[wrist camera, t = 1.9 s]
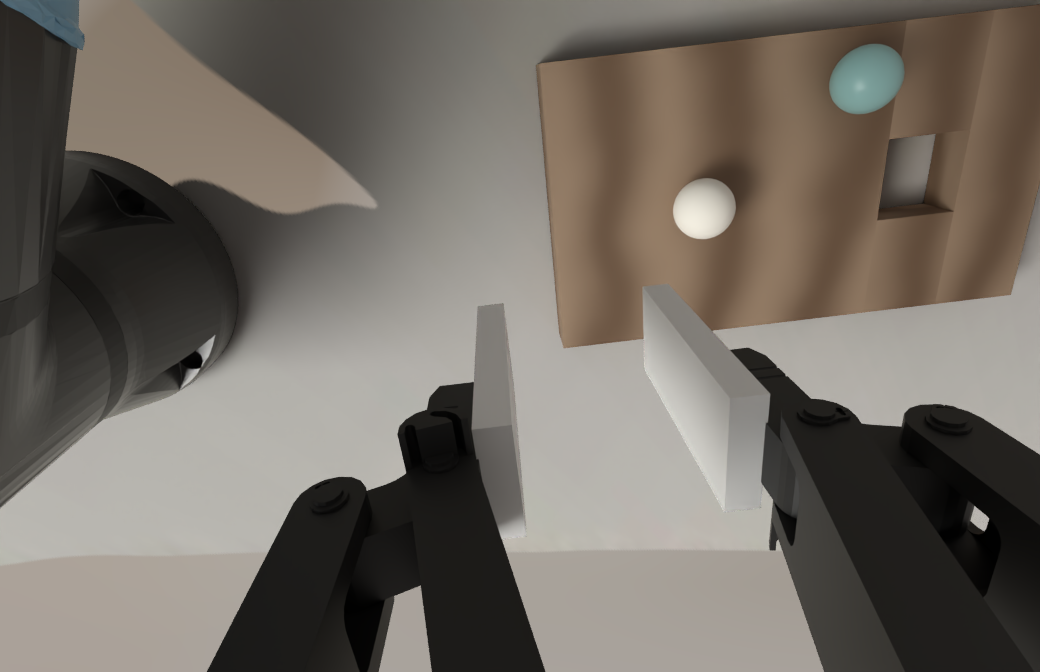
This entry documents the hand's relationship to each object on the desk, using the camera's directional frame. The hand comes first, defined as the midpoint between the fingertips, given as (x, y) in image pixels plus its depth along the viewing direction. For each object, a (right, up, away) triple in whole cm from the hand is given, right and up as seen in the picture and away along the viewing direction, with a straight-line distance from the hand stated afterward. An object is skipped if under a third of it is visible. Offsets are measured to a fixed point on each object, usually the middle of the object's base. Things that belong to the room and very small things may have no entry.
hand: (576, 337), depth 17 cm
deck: (+14, +9, +17) cm, 24 cm away
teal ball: (+16, +13, +11) cm, 23 cm away
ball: (+8, +7, +13) cm, 17 cm away
